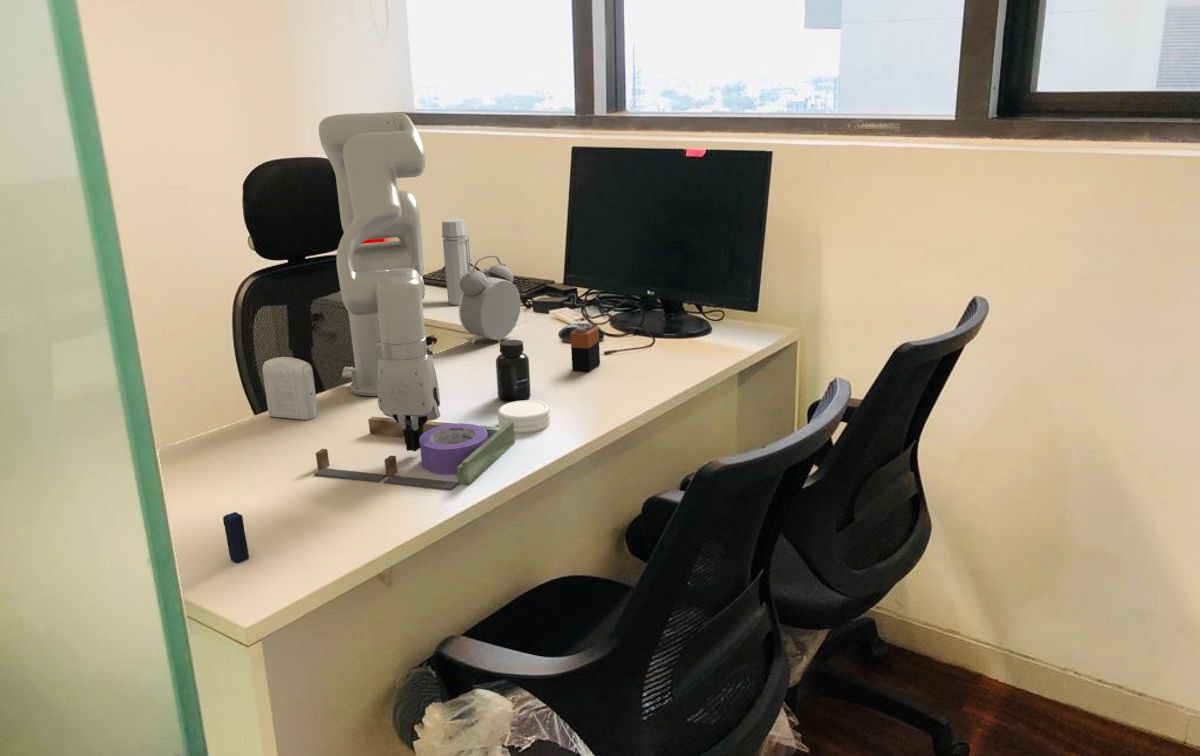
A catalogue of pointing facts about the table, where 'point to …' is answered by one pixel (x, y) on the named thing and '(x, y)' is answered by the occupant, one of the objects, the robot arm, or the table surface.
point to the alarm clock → (489, 302)
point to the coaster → (525, 415)
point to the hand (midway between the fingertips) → (415, 448)
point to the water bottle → (455, 256)
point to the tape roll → (450, 446)
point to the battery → (585, 348)
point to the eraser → (236, 537)
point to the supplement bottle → (512, 372)
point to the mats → (392, 479)
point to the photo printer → (290, 388)
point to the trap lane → (473, 464)
